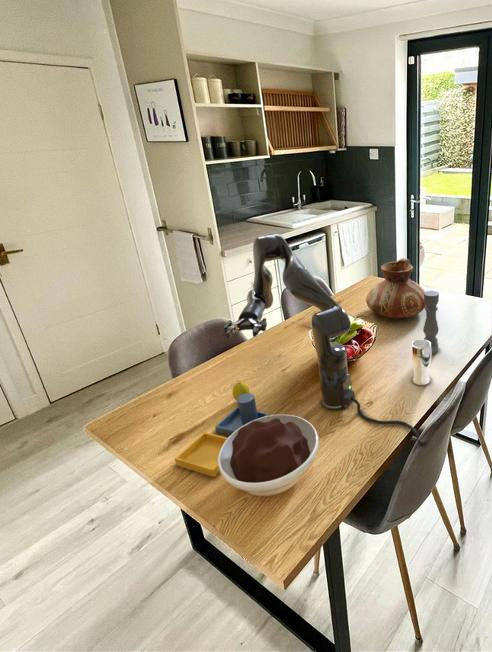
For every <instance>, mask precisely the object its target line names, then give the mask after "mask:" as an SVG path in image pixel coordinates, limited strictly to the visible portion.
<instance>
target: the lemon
mask: <svg viewBox="0 0 492 652" xmlns="http://www.w3.org/2000/svg"><path fill="white" fill-rule="evenodd" d="M245 393H251V389H250V386H249V385H248V384H247V383H246V382H245V381H238V382H237V383H235V384H234V385H233V387H232V397H233V399H234V400H235V401H236V402H237V398H238V397H239V396H240V395H242V394H245Z"/></svg>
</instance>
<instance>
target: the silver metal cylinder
mask: <svg viewBox="0 0 492 652" xmlns="http://www.w3.org/2000/svg"><path fill="white" fill-rule="evenodd" d="M431 362H432V354H431V343H430V342H429V341H428V340H424V338H423V339H422V338H421V339H415V340H413V341H412V342H411V363H412V368H413V377H412V383H414V384H415V385H418V386H426V385H428V384H429V383H430V382H431V378H430V368H431Z"/></svg>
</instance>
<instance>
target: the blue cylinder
mask: <svg viewBox="0 0 492 652" xmlns="http://www.w3.org/2000/svg"><path fill="white" fill-rule="evenodd" d="M236 402H237V406H238V407H239V412H240V416H241V421H242V425H245V424H247V423H249V422H251V421H253V420H256V419H259V418H258V413H257V411H258V409H257V403H256V398H255V395H254V393H251V392H250V393H245V394H242V395H240V396H239V397H238V398H237V401H236Z"/></svg>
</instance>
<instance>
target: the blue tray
mask: <svg viewBox="0 0 492 652" xmlns="http://www.w3.org/2000/svg"><path fill="white" fill-rule="evenodd" d="M257 413H258V418H262V417H265V416H270V413H269V412H264V411H259V410H257ZM242 426H243V425H242V421H241V416H240V412H239V407H238V405H237V406H236V407H235V408H233V409H232V410H231V411H230V412H229V413H228V414H227V415H226V416H225V417H224V418H223V419H222V420H221V421H220V422H219V423H217V424H216V425H215V431H216V433H219V434H223V435H226V436H230V435H231V434H232V433H234V432H235V431H236V430H237V429H239V428H240V427H242Z"/></svg>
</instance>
